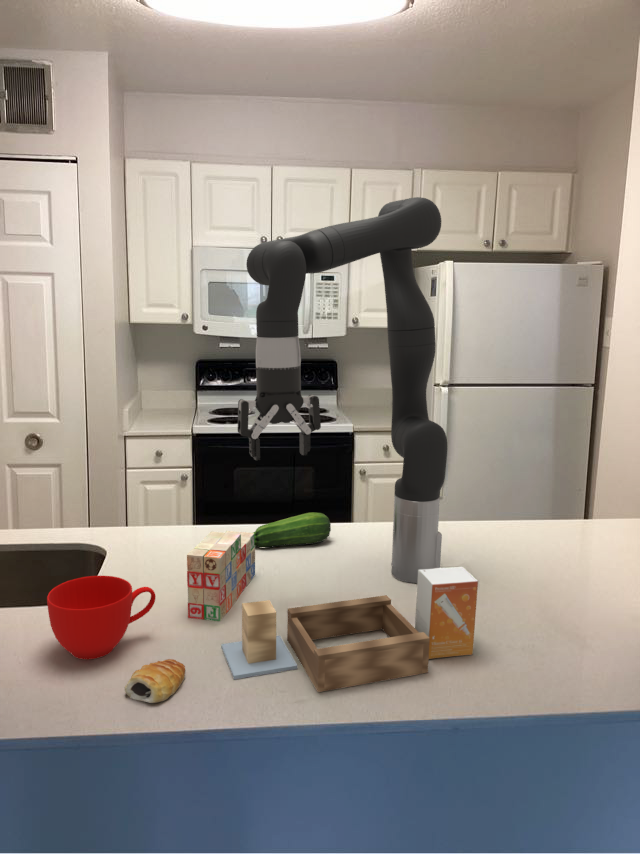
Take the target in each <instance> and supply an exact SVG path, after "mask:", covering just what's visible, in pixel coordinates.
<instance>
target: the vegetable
mask: <svg viewBox="0 0 640 854" xmlns="http://www.w3.org/2000/svg"><path fill="white" fill-rule="evenodd" d="M331 524H332V523H331V521H330V518H329V517H328V516H327V515H325V514H324V513H322V512H306V513H302V514H298V515H295V516H290V517H288V518H284V519H280V520H277V521H274V522H269V523H265V524H262V525H260V526H258V527H257V528H256V529H255V531H254V532H252V533H254V534H255V535H254V536H255V546H254V547H257V548H259V547H271V548H273V547H272V546H275V547H281V545H283V546H299V544H304V545H312V543H313V544H317V543H320V542H323V541H325V540H327V539H328V537H330V533H331V531H332V529H331V528H332V527H331V526H332V525H331Z"/></svg>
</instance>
